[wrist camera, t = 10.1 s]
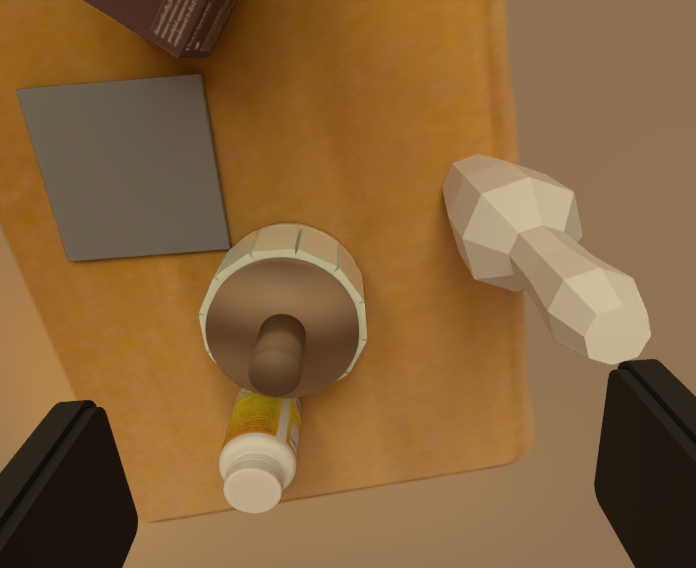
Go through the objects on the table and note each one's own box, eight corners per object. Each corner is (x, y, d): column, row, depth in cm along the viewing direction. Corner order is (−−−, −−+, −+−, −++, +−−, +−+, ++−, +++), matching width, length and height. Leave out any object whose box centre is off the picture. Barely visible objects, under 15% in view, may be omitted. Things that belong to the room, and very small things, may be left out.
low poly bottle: (431, 142, 38) (536, 251, 18) (523, 140, 38) (733, 247, 18) (428, 230, 40) (516, 413, 20) (514, 228, 40) (688, 410, 20)
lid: (195, 263, 35) (169, 302, 29) (352, 250, 34) (355, 287, 29) (222, 395, 39) (204, 450, 33) (363, 384, 38) (367, 438, 33)
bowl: (207, 228, 40) (186, 257, 34) (357, 216, 40) (360, 243, 34) (231, 357, 44) (216, 401, 39) (367, 347, 44) (370, 390, 39)
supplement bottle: (223, 401, 46) (193, 492, 37) (267, 361, 45) (248, 445, 35) (271, 439, 48) (255, 535, 38) (316, 402, 46) (310, 492, 37)
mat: (20, 88, 36) (15, 89, 35) (201, 73, 36) (199, 74, 35) (71, 258, 41) (67, 261, 40) (231, 246, 41) (229, 248, 40)
